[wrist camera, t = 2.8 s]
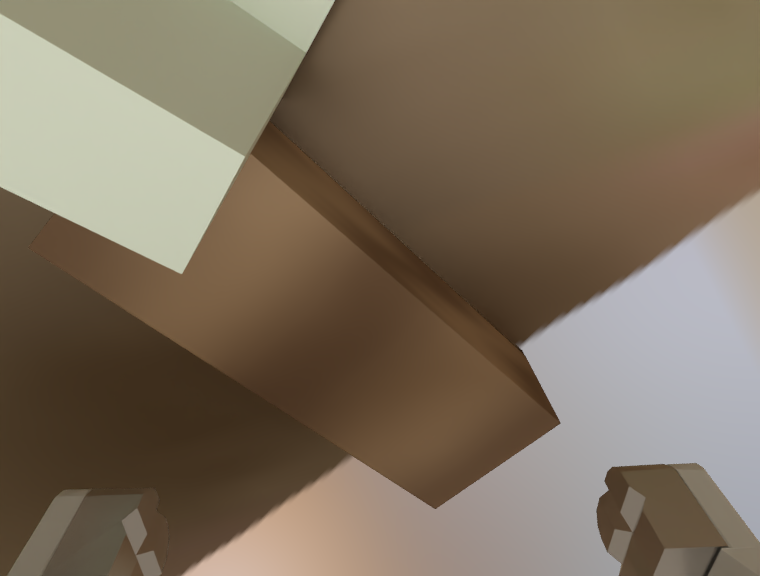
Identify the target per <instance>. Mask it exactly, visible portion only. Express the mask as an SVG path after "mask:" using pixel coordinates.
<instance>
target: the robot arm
mask: <svg viewBox="0 0 760 576" xmlns="http://www.w3.org/2000/svg"><path fill="white" fill-rule="evenodd" d="M605 483H606V485H607V487H608V489H609V491H607V492H606V493H605V494H604V495H602V496H601V497H600V498H599V503H598V507H597V523H598V528H599V532H600V535H601V539H602V541H603V543H604V545H605V548H606V550H607V552H608V553H609V554H610V555H612V556H613V557H614V558H615V559H616V560H618V561H619V562H620V563H621V569H620V573H619V576H760V542H759V541H758V540H757V538H756V537H755V536H754V534H753V533H752V532H751V530H750V529H749V528H748V526H747V525H746V524H745V522H744V521H743V520H742V519H741V517H740V516H739V514H738V513H737V512H736V511H735V509H734V508H733V506H732V505H731V504H730V503H729V501H728V500H727V499H726V497H725V496H724V495H723V493H722V492H721V491H720V489H719V488H718V487H717V485H716V484H715V483H714V481H713V480H712V479H711V477H710V476H709V475H708V474H707V472H706V471H705V470H704V468H703V467H701V466H700V465H698V464H697V463H690V464H668V465H665V464H656V465H639V466H621V467H612V468H611V469H610V470H609V471H608V472H607V475H606V478H605ZM159 502H160V499H159V497H158V494H157V492H156V489H155V488H104V489H70V490H63V491H62V492H61V493H59V494H58V495H57V496H56V497H55V498H54V499H53V501H52V503H51V504H50V506H49V507H48V509H47V511H46V512H45V514H44V516H43V517H42V519H41V521H40V522H39V524H38V525H37V527H36V529H35V530H34V532H33V534H32V535H31V537H30V539H29V540H28V542H27V543H26V545H25V547H24V548H23V550H22V552H21V553H20V555H19V556H18V558H17V560H16V561H15V563H14V565H13V566H12V568H11V570H10V571H9V573H8V574H7V576H159V575H160V574H161V573H162V571H163V568H164V564H165V561H166V558H167V553H168V546H169V527H168V523H167V520H166V517H165V516H163V515H162V514H160V513H159V512H157V511H156V510H157V507H158V504H159Z"/></svg>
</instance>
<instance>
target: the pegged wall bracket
mask: <svg viewBox="0 0 760 576" xmlns="http://www.w3.org/2000/svg"><path fill="white" fill-rule="evenodd" d="M334 1H335V0H0V187H2V188H4V189H6V190H8V191H10V192H12V193H14V194H16V195H18V196H20V197H22V198H24V199H26V200H29V201H31V202H33V203H35V204H37V205H39V206H41V207H43V208H45V209H47V210H49V211H51V212H53V213H56V214H58V215H60V216H62V217H64V218H66V219H68V220H70V221H72V222H74V223H76V224H78V225H80V226H83V227H85V228H87V229H89V230H91V231H93V232H95V233H97V234H99V235H101V236H103V237H105V238H107V239H110V240H112V241H114V242H116V243H118V244H120V245H122V246H124V247H126V248H128V249H130V250H132V251H134V252H137V253H139V254H141V255H143V256H145V257H147V258H149V259H151V260H153V261H155V262H157V263H159V264H161V265H164V266H166V267H168V268H170V269H172V270H174V271H176V272H178V273H180V274H182V273H183V272H184V270H185V268H186V266H187V264H188V263H189V261H190V259H191V257H192V256H193V254H194V252H195V250H196V249H197V247H198V245H199V243H200V242H201V240H202V238H203V236H204V234H205V233H206V231H207V229H208V227H209V226H210V224H211V222H212V220H213V219H214V217H215V215H216V213H217V212H218V210H219V208H220V206H221V205H222V203H223V201H224V199H225V197H226V196H227V194H228V192H229V190H230V189H231V187H232V185H233V183H234V182H235V180H236V178H237V176H238V175H239V173H240V171H241V169H242V168H243V166H244V164H245V162H246V160H247V159H248V157H249V155H250V153H251V152H252V150H253V148H254V146H255V145H256V143H257V141H258V139H259V138H260V136H261V134H262V132H263V130H264V129H265V127H266V125H267V123H268V122H269V120H270V118H271V116H272V115H273V113H274V111H275V109H276V108H277V106H278V104H279V103H280V101H281V99H282V97H283V95H284V94H285V92H286V90H287V88H288V86H289V84H290V82H291V81H292V79H293V77H294V75H295V73H296V71H297V70H298V68H299V66H300V64H301V62H302V60H303V58H304V57H305V55H306V53H307V51H308V49H309V47H310V46H311V44H312V42H313V40H314V38H315V36H316V35H317V33H318V31H319V29H320V27H321V25H322V23H323V22H324V20H325V18H326V16H327V14H328V12H329V11H330V9H331V7H332V5H333V3H334Z"/></svg>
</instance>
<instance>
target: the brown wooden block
mask: <svg viewBox="0 0 760 576" xmlns="http://www.w3.org/2000/svg"><path fill="white" fill-rule="evenodd" d="M28 248H29V249H31V250H32V251H34V252H35V253H37V254H38V255H40V256H41V257H43V258H45V259H46V260H48V261H49V262H51V263H52V264H54V265H55V266H57V267H59V268H60V269H62V270H63V271H65V272H66V273H68V274H70V275H71V276H73V277H74V278H76V279H77V280H79V281H80V282H82V283H84V284H85V285H87V286H88V287H90V288H91V289H93V290H94V291H96V292H98V293H99V294H101V295H102V296H104V297H105V298H107V299H108V300H110V301H112V302H113V303H115V304H116V305H118V306H119V307H121V308H123V309H124V310H126V311H127V312H129V313H130V314H132V315H133V316H135V317H137V318H138V319H140V320H141V321H143V322H144V323H146V324H147V325H149V326H151V327H152V328H154V329H155V330H157V331H158V332H160V333H161V334H163V335H165V336H166V337H168V338H169V339H171V340H172V341H174V342H176V343H177V344H179V345H180V346H182V347H183V348H185V349H186V350H188V351H190V352H191V353H193V354H194V355H196V356H197V357H199V358H200V359H202V360H204V361H205V362H207V363H208V364H210V365H211V366H213V367H215V368H216V369H218V370H219V371H221V372H222V373H224V374H225V375H227V376H229V377H230V378H232V379H233V380H235V381H236V382H238V383H239V384H241V385H243V386H244V387H246V388H247V389H249V390H250V391H252V392H253V393H255V394H257V395H258V396H260V397H261V398H263V399H264V400H266V401H268V402H269V403H271V404H272V405H274V406H275V407H277V408H278V409H280V410H282V411H283V412H285V413H286V414H288V415H289V416H291V417H292V418H294V419H296V420H297V421H299V422H300V423H302V424H303V425H305V426H307V427H308V428H310V429H311V430H313V431H314V432H316V433H317V434H319V435H321V436H322V437H324V438H325V439H327V440H328V441H330V442H331V443H333V444H335V445H336V446H338V447H339V448H341V449H342V450H344V451H345V452H347V453H349V454H350V455H352V456H353V457H355V458H356V459H358V460H360V461H361V462H363V463H364V464H366V465H367V466H369V467H370V468H372V469H374V470H375V471H377V472H378V473H380V474H381V475H383V476H385V477H386V478H388V479H389V480H391V481H392V482H394V483H395V484H397V485H399V486H400V487H402V488H403V489H405V490H406V491H408V492H409V493H411V494H413V495H414V496H416V497H417V498H419V499H420V500H422V501H423V502H425V503H427V504H428V505H430V506H432V507H433V508H435V509H436V508H437V507H439V506H440V505H442V504H443V503H445V502H446V501H448V500H449V499H451V498H452V497H454V496H455V495H457V494H458V493H460V492H461V491H462V490H464V489H465V488H467V487H468V486H469V485H471V484H473V483H474V482H476V481H477V480H479V479H480V478H481V477H483V476H484V475H486V474H487V473H489V472H490V471H492V470H493V469H495V468H496V467H497V466H499V465H500V464H502V463H503V462H505V461H506V460H508V459H509V458H511V457H512V456H514V455H515V454H516V453H518V452H519V451H521V450H522V449H524V448H525V447H527V446H528V445H529V444H531V443H533V442H534V441H536V440H537V439H538V438H540V437H541V436H542V435H544V434H546V433H547V432H549V431H550V430H552V429H553V428H555V427H556V426H557V425H559V424H560V421H559V419H558V417H557V415H556V413H555V412H554V410H553V408H552V406H551V404H550V402H549V400H548V398H547V396H546V394H545V393H544V391H543V389H542V387H541V385H540V383H539V381H538V379H537V377H536V375H535V374H534V372H533V370H532V368H531V366H530V364H529V362H528V360H527V358H526V356H525V355H524V353H523V351H522V350H521V349H520V348H518V349H517V348H516V347H515V346H514V345H513V344H512V343H510V342H509V341H508V340H507V339H506V338H505V337H504V336H503V335H502V334H501V333H500V332H498V331H497V330H496V329H495V328H494V327H493V326H492V325H491V324H490V323H489V322H488V321H486V320H485V319H484V318H483V317H482V316H481V315H480V314H479V313H478V312H477V311H476V310H475V309H473V308H472V307H471V306H470V305H469V304H468V303H467V302H466V301H465V300H464V299H463V298H461V297H460V296H459V295H458V294H457V293H456V292H455V291H454V290H453V289H452V288H451V287H449V286H448V285H447V284H446V283H445V282H444V281H443V280H442V279H441V278H440V277H439V276H438V275H436V274H435V273H434V272H433V271H432V270H431V269H430V268H429V267H428V266H427V265H426V264H424V263H423V262H422V261H421V260H420V259H419V258H418V257H417V256H416V255H415V254H414V253H412V252H411V251H410V250H409V249H408V248H407V247H406V246H405V245H404V244H403V243H402V242H400V241H399V240H398V239H397V238H396V237H395V236H394V235H393V234H392V233H391V232H390V231H389V230H387V229H386V228H385V227H384V226H383V225H382V224H381V223H380V222H379V221H378V220H377V219H375V218H374V217H373V216H372V215H371V214H370V213H369V212H368V211H367V210H366V209H365V208H363V207H362V206H361V205H360V204H359V203H358V202H357V201H356V200H355V199H354V198H353V197H351V196H350V195H349V194H348V193H347V192H346V191H345V190H344V189H343V188H342V187H341V186H340V185H338V184H337V183H336V182H335V181H334V180H333V179H332V178H331V177H330V176H329V175H328V174H326V173H325V172H324V171H323V170H322V169H321V168H320V167H319V166H318V165H317V164H316V163H314V162H313V161H312V160H311V159H310V158H309V157H308V156H307V155H306V154H305V153H304V152H303V151H301V150H300V149H299V148H298V147H297V146H296V145H295V144H294V143H293V142H292V141H291V140H289V139H288V138H287V137H286V136H285V135H284V134H283V133H282V132H281V131H280V130H279V129H277V128H276V127H275V126H274V125H273V124H272V123H271V122H270V121H269V122H268V123H267V125H266V127H265V129H264V130H263V132H262V134H261V136H260V138H259V139H258V141H257V143H256V145H255V146H254V148H253V150H252V152H251V153H250V155H249V157H248V159H247V160H246V162H245V164H244V166H243V168H242V169H241V171H240V173H239V175H238V176H237V178H236V180H235V182H234V183H233V185H232V187H231V189H230V190H229V192H228V194H227V196H226V197H225V199H224V201H223V203H222V205H221V206H220V208H219V210H218V212H217V213H216V215H215V217H214V219H213V220H212V222H211V224H210V226H209V227H208V229H207V231H206V233H205V234H204V236H203V238H202V240H201V242H200V243H199V245H198V247H197V249H196V250H195V252H194V254H193V256H192V257H191V259H190V261H189V263H188V264H187V266H186V268H185V270H184V272H183V273H182V274H180V273H178V272H176V271H174V270H172V269H170V268H168V267H166V266H164V265H161V264H159V263H157V262H155V261H153V260H151V259H149V258H147V257H145V256H143V255H141V254H139V253H137V252H134V251H132V250H130V249H128V248H126V247H124V246H122V245H120V244H118V243H116V242H114V241H112V240H110V239H107V238H105V237H103V236H101V235H99V234H97V233H95V232H93V231H91V230H89V229H87V228H85V227H83V226H80V225H78V224H76V223H74V222H72V221H70V220H68V219H66V218H64V217H62V216H60V215H58V214H56V213H54V214H53V215H52V217H51V218H50V219H49V221H48V222H47V223H46V225H45V226H44V227H43V229H42V230H41V231H40V233H39V234H38V235H37V237H36V238H35V239H34V241H33V242H32V243H31V245H30V246H29V247H28Z"/></svg>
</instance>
